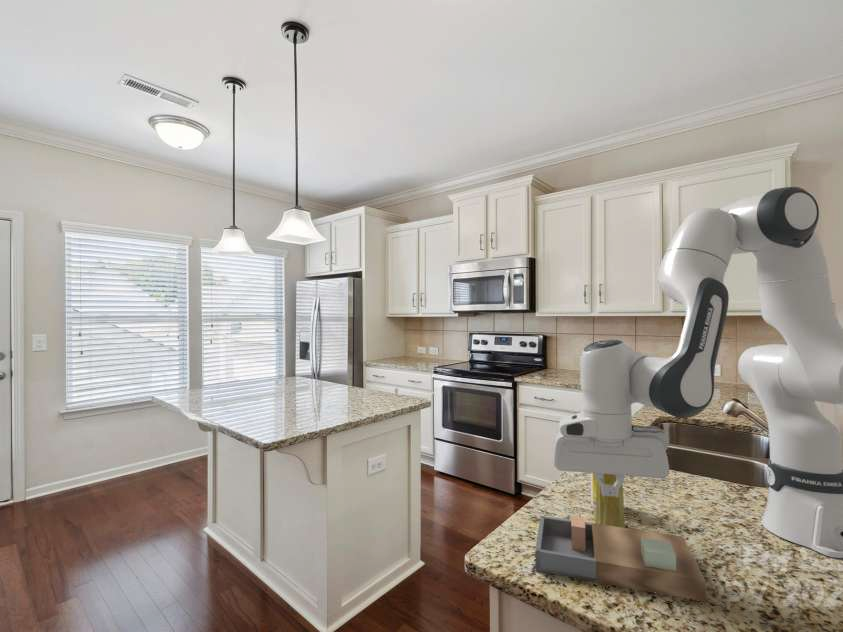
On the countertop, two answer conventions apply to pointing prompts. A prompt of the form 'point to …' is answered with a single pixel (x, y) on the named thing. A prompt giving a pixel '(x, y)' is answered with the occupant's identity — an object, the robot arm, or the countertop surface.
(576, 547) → the tile terracotta
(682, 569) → the board
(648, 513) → the countertop surface
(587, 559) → the tray
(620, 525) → the vase
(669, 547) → the tile sage
